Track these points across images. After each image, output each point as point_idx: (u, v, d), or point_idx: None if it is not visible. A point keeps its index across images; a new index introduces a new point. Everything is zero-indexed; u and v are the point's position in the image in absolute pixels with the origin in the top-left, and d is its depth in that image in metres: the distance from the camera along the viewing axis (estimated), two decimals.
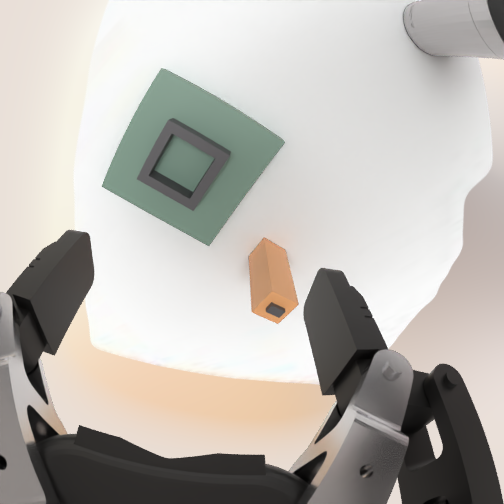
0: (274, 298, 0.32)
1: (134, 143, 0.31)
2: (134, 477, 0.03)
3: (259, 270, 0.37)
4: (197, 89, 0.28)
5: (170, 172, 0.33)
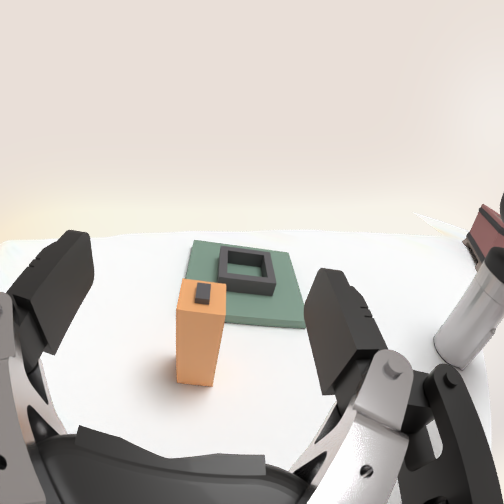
0: (217, 289, 0.24)
1: None
2: (134, 477, 0.03)
3: None
4: (292, 269, 0.48)
5: (230, 270, 0.45)
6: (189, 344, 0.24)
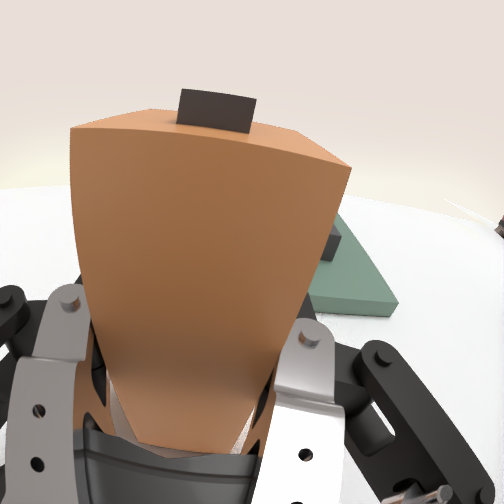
0: (272, 128, 0.06)
1: None
2: (134, 477, 0.03)
3: None
4: (348, 229, 0.30)
5: None
6: (148, 349, 0.05)
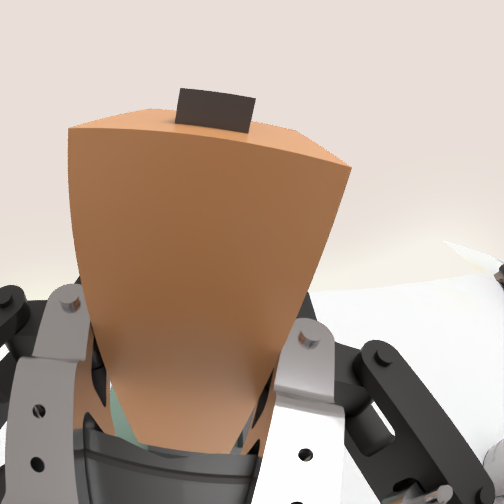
0: (272, 128, 0.06)
1: None
2: (134, 477, 0.03)
3: None
4: None
5: None
6: (147, 350, 0.05)
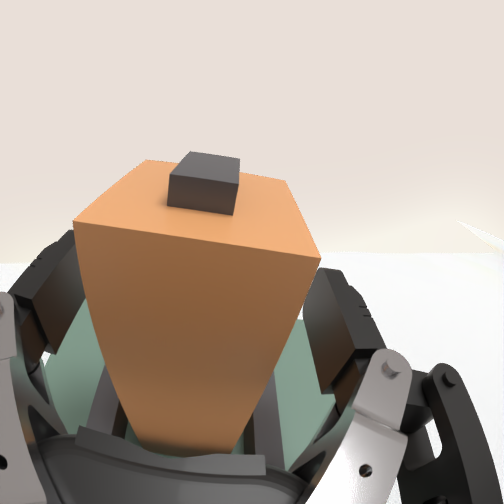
0: (260, 185, 0.07)
1: None
2: (134, 477, 0.03)
3: None
4: None
5: None
6: (153, 384, 0.06)
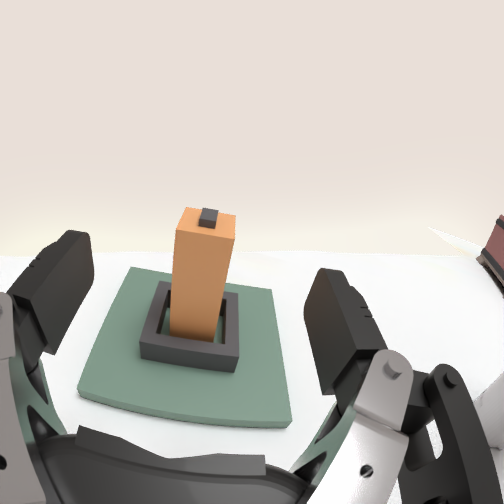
0: (225, 218, 0.21)
1: None
2: (134, 477, 0.03)
3: None
4: (274, 319, 0.30)
5: None
6: (187, 283, 0.20)
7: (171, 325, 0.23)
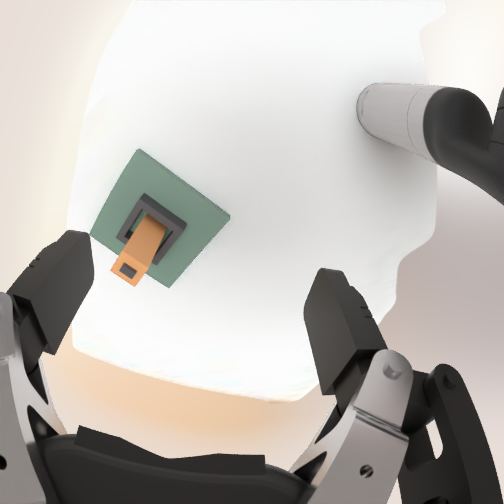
0: (125, 258, 0.32)
1: (114, 207, 0.40)
2: (134, 477, 0.03)
3: None
4: (163, 172, 0.38)
5: None
6: None
7: None
